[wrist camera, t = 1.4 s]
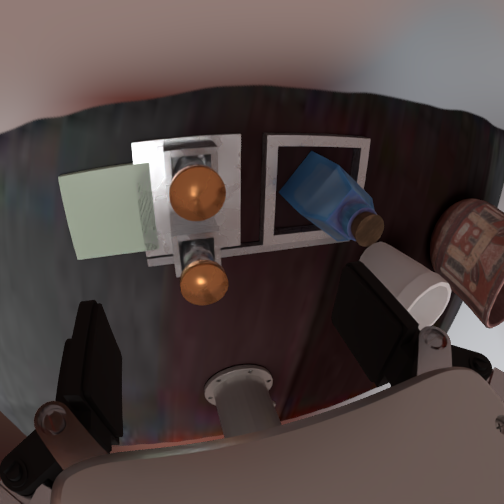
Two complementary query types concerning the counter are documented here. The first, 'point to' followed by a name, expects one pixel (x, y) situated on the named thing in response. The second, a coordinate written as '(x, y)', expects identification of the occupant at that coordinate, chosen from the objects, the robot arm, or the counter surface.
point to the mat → (107, 210)
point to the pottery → (472, 256)
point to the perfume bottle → (333, 201)
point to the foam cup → (409, 282)
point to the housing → (229, 193)
